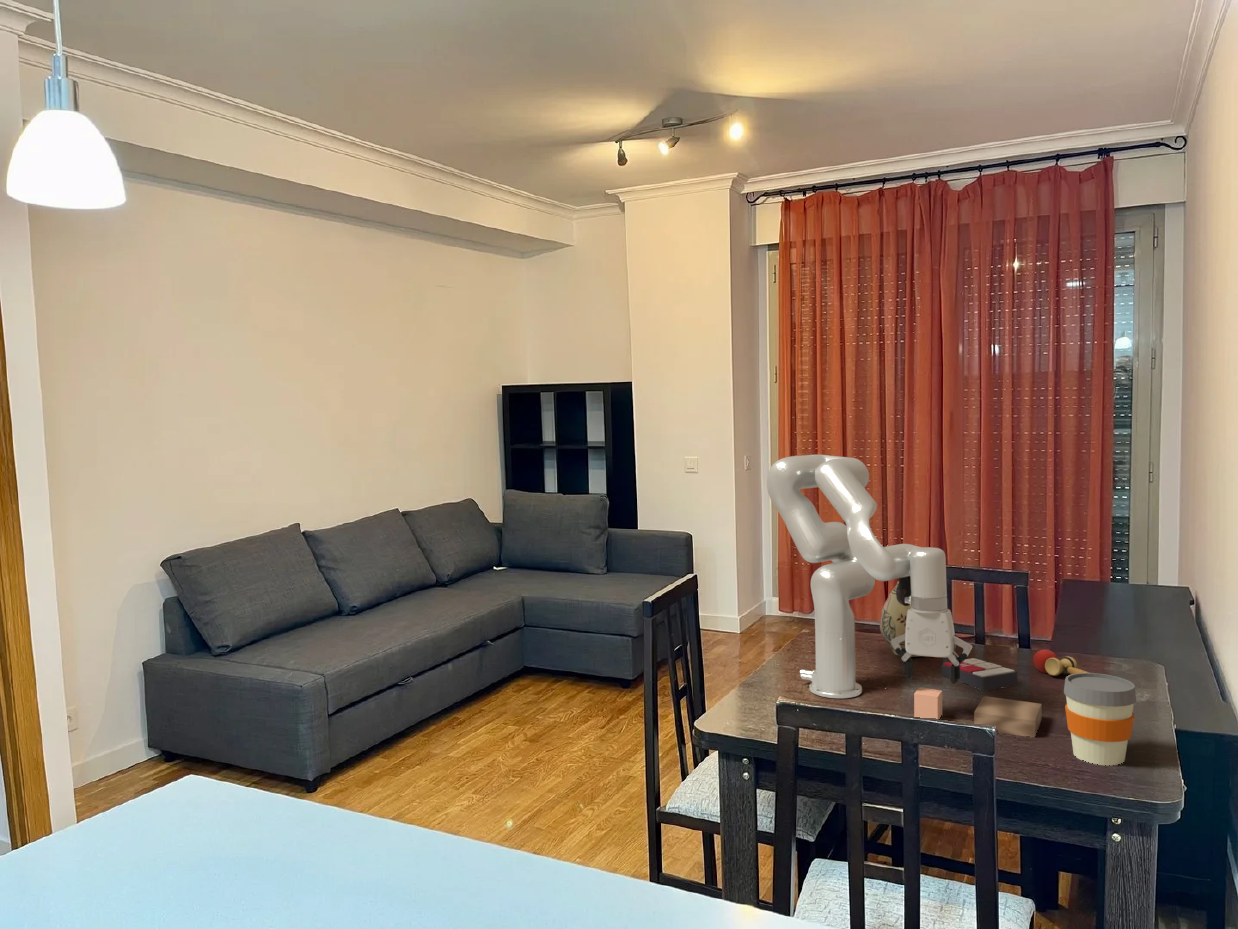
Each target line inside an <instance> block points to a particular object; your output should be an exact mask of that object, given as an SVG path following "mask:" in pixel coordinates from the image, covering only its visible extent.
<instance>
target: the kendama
mask: <svg viewBox="0 0 1238 929" xmlns="http://www.w3.org/2000/svg"><path fill="white" fill-rule="evenodd" d="M1032 663H1033V666H1034V667H1035V669H1036V670H1037V671H1038V672H1040V673H1042V674H1047V673H1048V675H1050V676H1059V675H1060V674H1063V675H1065V676H1067V675H1071V674H1076V673H1090V672H1089V671H1086V670H1083V669H1080V668H1078V667H1079V666H1078V662H1077V661H1076V659H1075V658H1074V657H1072V656H1062V657H1061V658H1060V659H1059V658H1058V656H1057V655H1056V653H1055V652H1054V651H1052V650H1050V649H1040V650H1038V651H1036V652H1035V654H1034V655H1033V659H1032Z"/></svg>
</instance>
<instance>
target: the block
mask: <svg viewBox="0 0 1238 929" xmlns="http://www.w3.org/2000/svg"><path fill="white" fill-rule="evenodd" d="M913 700H914V701H913V702H914V704H913V708H914V709H913V714H914V715H913V716H914V717H920V718H936V719H940V717H941V715H942V716H943V690H940V689H934V688H927V687H918V688H917V690H916V691H915V692H914V693H913ZM914 717H913V718H914ZM940 720H941V719H940Z"/></svg>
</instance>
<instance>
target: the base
mask: <svg viewBox="0 0 1238 929" xmlns="http://www.w3.org/2000/svg"><path fill="white" fill-rule="evenodd" d="M1042 705H1043V704H1042V703H1037V702H1030V701H1023V700H1018V699H1017V700H1015V699H1010V698H1009V699H1008V698H1001V697H995V696H994V697H993V696H987V695H983V696H982V698H981V700H980V702H979V703H978V704H977V706H976V708H975V710H974V711H973V712H974V713H973V723H974V724H993V725H995V726H996V728H997V730H998V732H997V733H1000V734H1001V733H1002V734H1007V735H1014V736H1020V737H1021V736H1022V737H1026V736H1030V737H1029V738H1032V737H1035V736H1037V734H1036V733H1038V731H1039V728H1040V725H1041V722H1042V710H1043V708H1042V707H1043V706H1042ZM974 724H973V725H974ZM1037 730H1038V731H1037ZM1035 738H1036V737H1035Z"/></svg>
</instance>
